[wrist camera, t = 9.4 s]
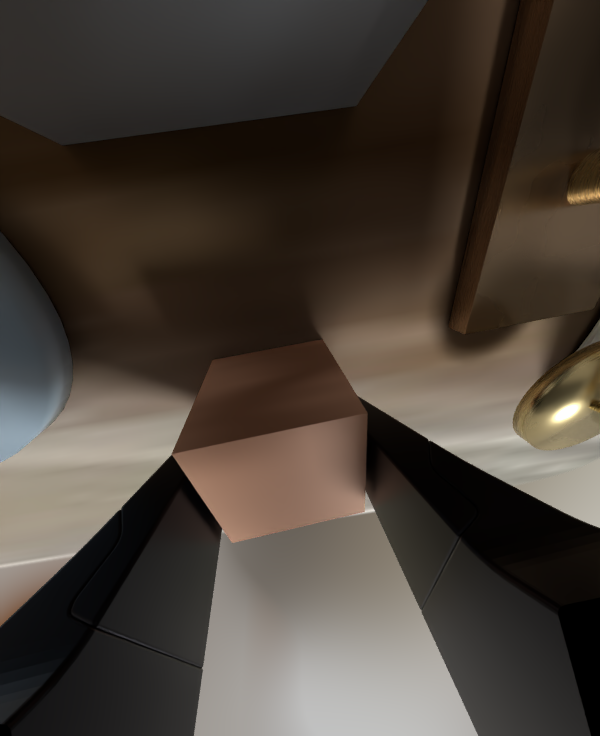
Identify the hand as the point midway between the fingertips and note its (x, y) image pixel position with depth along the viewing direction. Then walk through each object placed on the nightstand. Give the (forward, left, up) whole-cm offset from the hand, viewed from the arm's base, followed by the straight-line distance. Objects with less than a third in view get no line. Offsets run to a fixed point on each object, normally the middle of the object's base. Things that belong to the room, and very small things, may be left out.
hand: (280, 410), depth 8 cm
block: (0, 0, -1) cm, 1 cm away
